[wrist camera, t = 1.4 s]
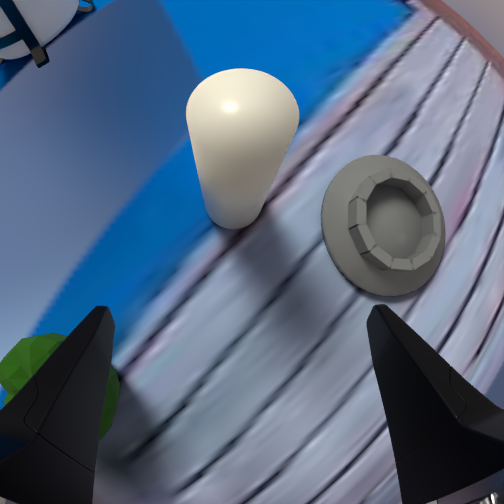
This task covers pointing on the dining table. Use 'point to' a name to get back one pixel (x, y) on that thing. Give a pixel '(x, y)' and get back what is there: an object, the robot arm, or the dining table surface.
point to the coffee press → (34, 26)
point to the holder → (383, 225)
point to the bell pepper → (32, 358)
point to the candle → (239, 141)
